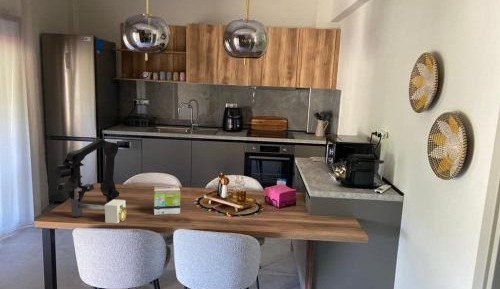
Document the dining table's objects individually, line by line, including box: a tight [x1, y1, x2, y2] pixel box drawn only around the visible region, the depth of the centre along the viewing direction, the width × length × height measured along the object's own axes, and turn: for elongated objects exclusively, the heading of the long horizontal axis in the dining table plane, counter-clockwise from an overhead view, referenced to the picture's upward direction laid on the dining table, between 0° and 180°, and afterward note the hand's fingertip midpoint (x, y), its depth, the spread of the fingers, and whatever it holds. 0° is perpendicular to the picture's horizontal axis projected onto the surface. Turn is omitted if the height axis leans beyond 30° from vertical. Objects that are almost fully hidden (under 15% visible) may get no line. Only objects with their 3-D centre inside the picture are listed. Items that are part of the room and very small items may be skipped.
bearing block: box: [104, 198, 127, 224], centre depth 212 cm, size 10×7×10 cm
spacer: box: [118, 207, 128, 222], centre depth 212 cm, size 7×1×7 cm, turn 173°
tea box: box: [153, 185, 181, 216], centre depth 227 cm, size 15×10×15 cm
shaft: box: [70, 196, 105, 218], centre depth 214 cm, size 4×26×10 cm, turn 83°
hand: (76, 201), depth 215 cm, fingers closed on shaft, 4 cm apart
